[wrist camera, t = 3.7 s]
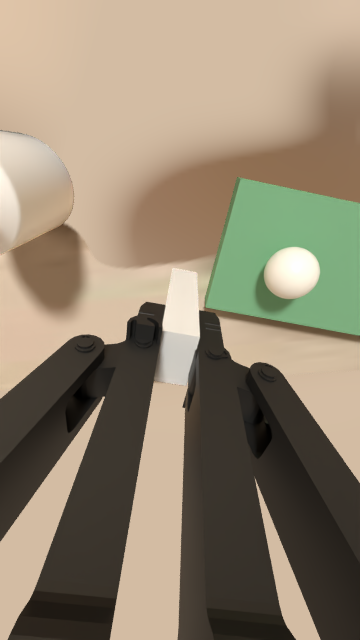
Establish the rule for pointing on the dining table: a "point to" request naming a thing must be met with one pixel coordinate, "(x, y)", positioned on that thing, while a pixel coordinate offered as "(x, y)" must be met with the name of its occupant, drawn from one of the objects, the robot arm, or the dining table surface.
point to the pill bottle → (30, 190)
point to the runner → (282, 232)
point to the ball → (291, 272)
